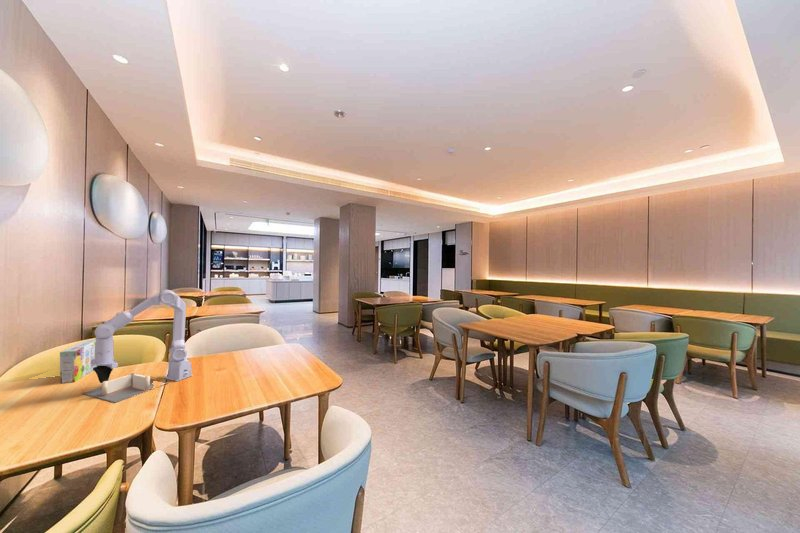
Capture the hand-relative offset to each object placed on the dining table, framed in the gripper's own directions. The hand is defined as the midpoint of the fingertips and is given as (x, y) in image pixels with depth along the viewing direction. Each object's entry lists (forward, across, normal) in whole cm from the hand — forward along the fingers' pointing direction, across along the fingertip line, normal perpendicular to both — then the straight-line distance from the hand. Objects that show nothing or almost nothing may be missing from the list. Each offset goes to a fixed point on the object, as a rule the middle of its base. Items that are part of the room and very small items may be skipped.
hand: (103, 382), depth 125 cm
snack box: (+4, -33, +7) cm, 34 cm away
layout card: (+4, +5, +5) cm, 9 cm away
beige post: (+3, +6, +2) cm, 7 cm away
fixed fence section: (+4, +11, +7) cm, 14 cm away
